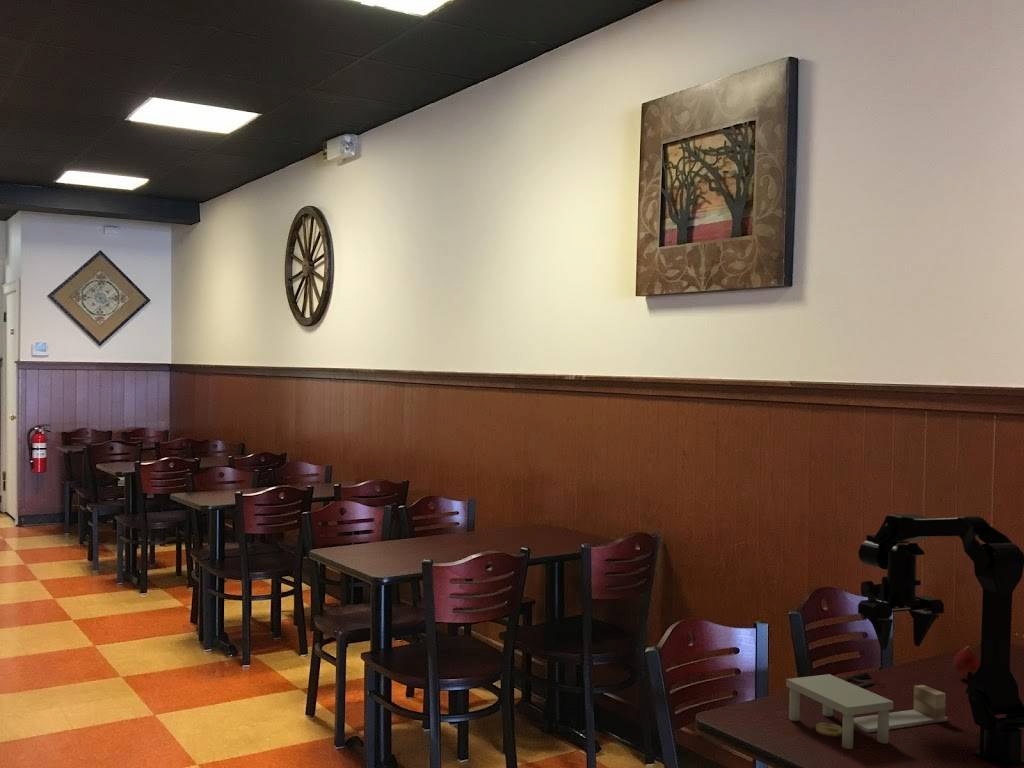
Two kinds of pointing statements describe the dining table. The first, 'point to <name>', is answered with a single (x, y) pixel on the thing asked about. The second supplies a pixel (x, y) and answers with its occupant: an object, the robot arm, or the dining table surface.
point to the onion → (966, 662)
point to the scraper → (911, 711)
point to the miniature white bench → (840, 703)
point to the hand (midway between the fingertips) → (900, 647)
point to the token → (829, 729)
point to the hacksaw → (863, 682)
